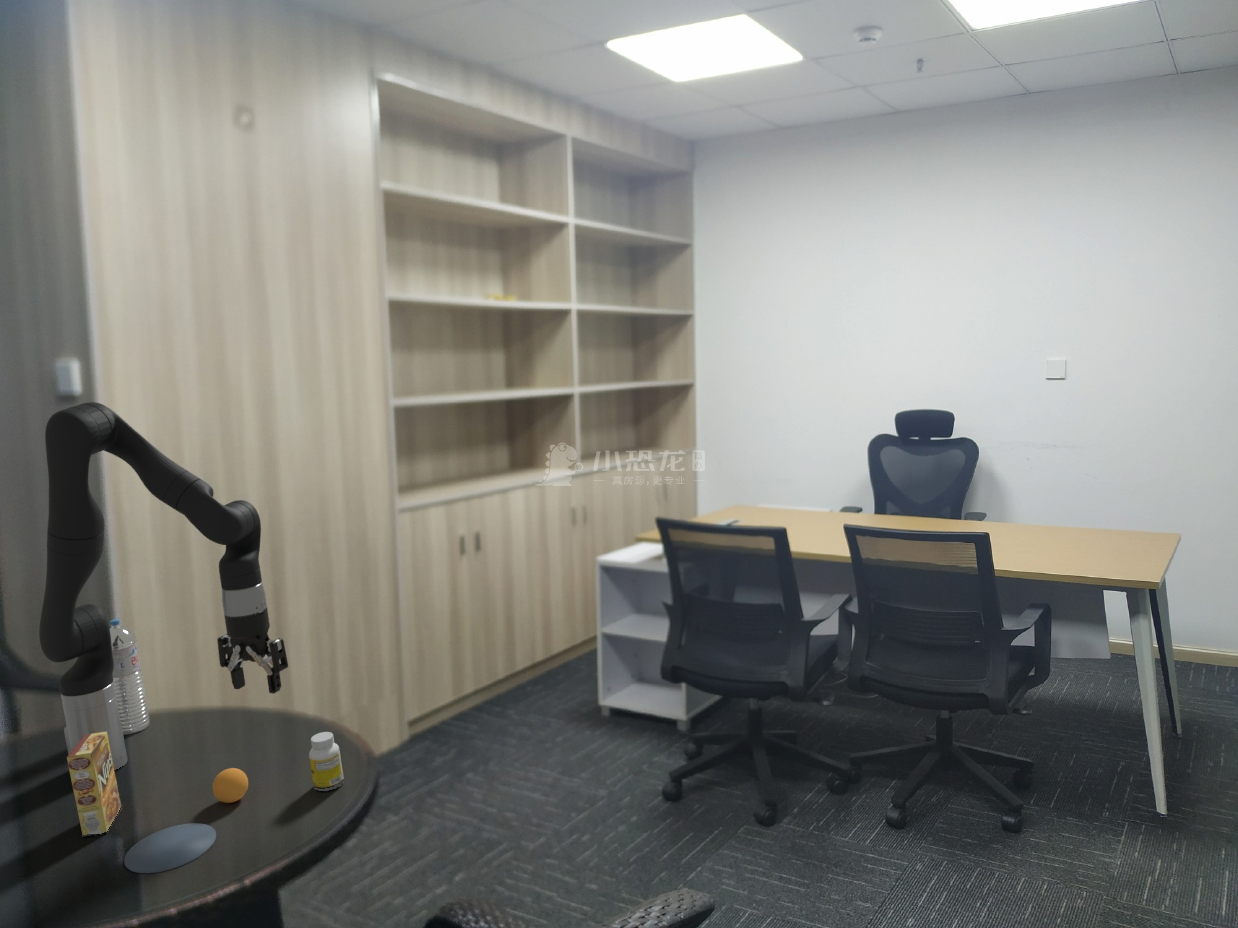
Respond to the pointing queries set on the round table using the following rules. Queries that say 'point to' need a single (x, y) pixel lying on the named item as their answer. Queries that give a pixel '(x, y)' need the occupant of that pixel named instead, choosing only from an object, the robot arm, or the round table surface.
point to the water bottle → (128, 680)
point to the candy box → (94, 783)
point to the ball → (230, 785)
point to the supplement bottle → (325, 761)
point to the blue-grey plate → (170, 848)
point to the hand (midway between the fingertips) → (257, 689)
